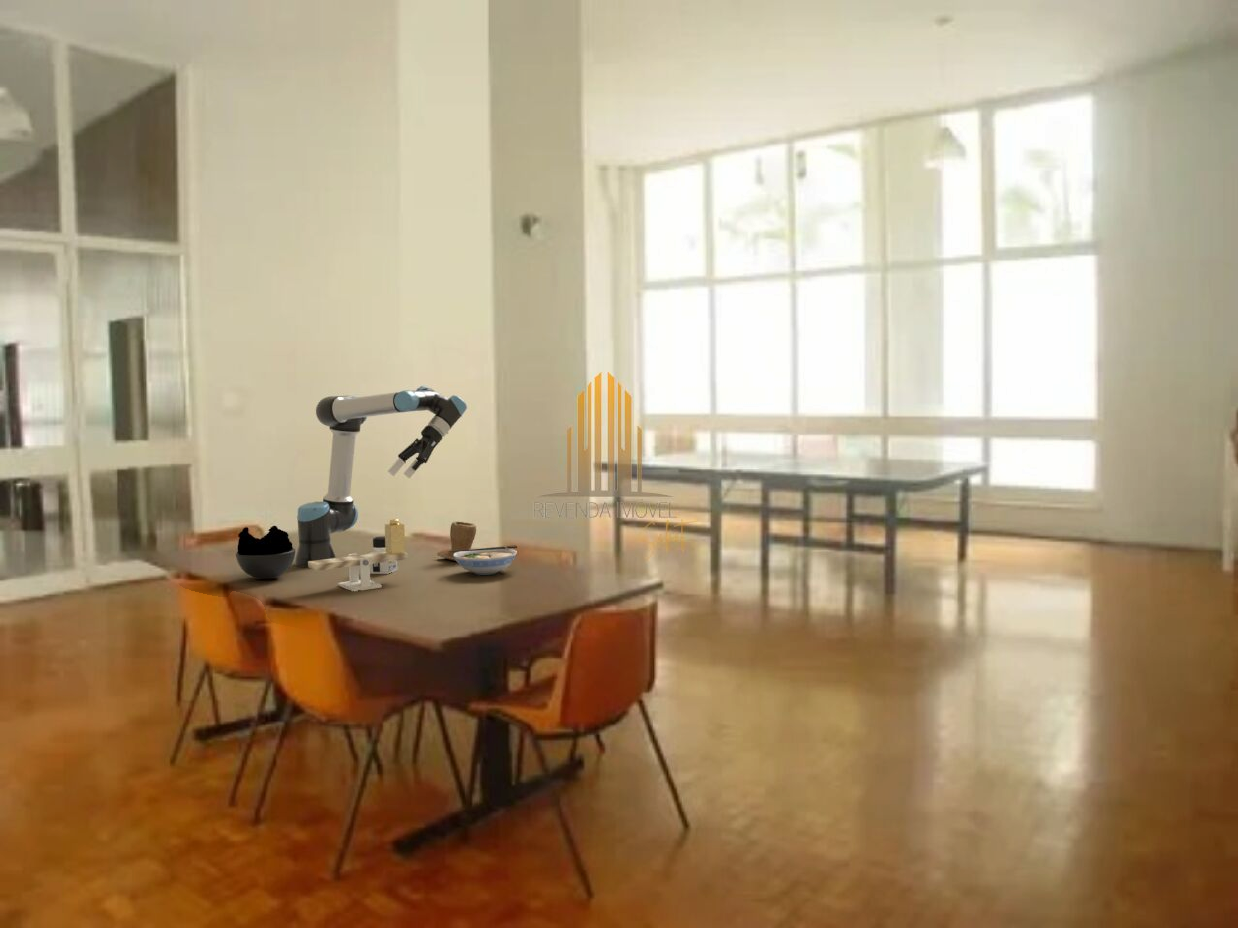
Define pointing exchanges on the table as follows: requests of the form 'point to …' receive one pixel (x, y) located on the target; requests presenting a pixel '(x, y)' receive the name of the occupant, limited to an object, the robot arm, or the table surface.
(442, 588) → the table surface
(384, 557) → the balance beam
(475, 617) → the table surface
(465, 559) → the ramen bowl
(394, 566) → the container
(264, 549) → the coal bowl
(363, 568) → the beam stand
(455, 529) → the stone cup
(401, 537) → the brass weight
